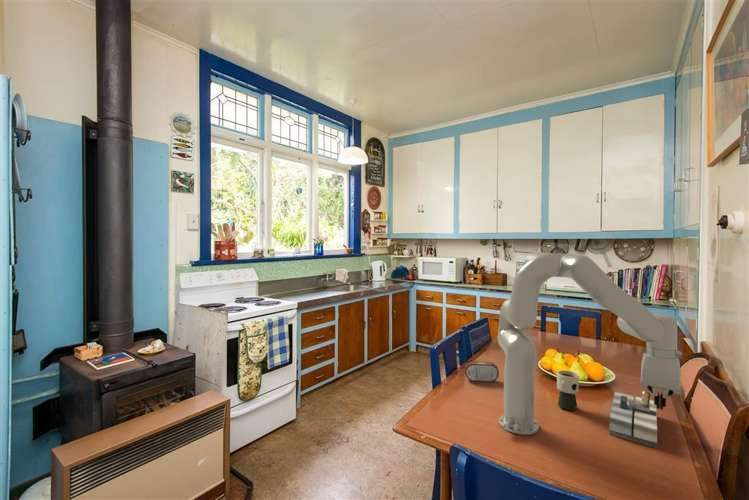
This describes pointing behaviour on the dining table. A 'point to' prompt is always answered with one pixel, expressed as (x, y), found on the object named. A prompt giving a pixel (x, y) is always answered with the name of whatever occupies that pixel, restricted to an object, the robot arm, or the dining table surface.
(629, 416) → the lock board
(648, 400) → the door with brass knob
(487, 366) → the tin
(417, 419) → the dining table surface
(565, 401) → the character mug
